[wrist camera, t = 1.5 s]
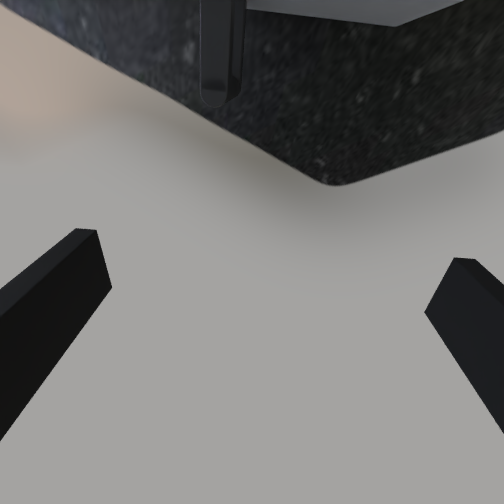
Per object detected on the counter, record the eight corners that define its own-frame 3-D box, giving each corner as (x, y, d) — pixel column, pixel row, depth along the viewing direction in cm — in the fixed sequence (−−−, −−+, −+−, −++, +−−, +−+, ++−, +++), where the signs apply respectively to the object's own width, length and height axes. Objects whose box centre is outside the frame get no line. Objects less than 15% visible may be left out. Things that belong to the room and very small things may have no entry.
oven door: (371, 111, 26) (449, 139, 15) (213, 92, 26) (170, 106, 15) (400, 11, 23) (538, -56, 11) (216, -12, 22) (159, -104, 11)
